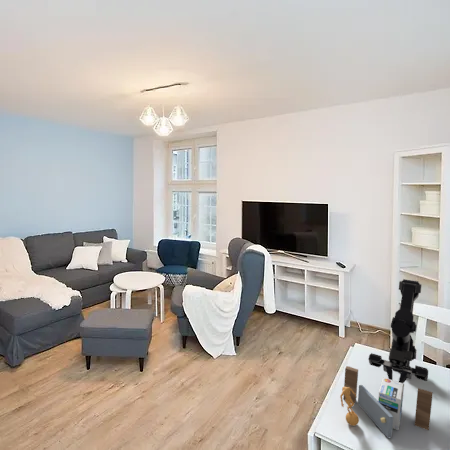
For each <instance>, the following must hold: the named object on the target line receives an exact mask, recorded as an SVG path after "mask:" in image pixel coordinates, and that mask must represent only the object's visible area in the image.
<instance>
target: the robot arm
mask: <svg viewBox="0 0 450 450" xmlns="http://www.w3.org/2000/svg"><path fill="white" fill-rule="evenodd" d="M398 290H399V291H400V295H401V299H400V306H399V309H398V310H397V311H396V312H395V314H394V316H393V317H392V319H391V322H390V328H391V336H392V341H391V346H390V350H389V352H388V353H389V354H388V360H386V359H382V355H379V354H376V353H372V352H371V353H369V356H368V363H369V365H370V366H373V367H375V368H376V367H377V368H381V367H382V369H383V371H384V372H385V373H386V375H387V378H388V379H390V380H394V378H393V376H394V375H393V371H397V372H400V374H399V375H400V376H399V378H398V382H400V383H403V384H405V382H406V381H407V379H410V380H411V378H412V374H413V375H414V377H415V378H416V379H418V380H419V381H425V382H428V377H429V369H428V368H427V367H423V366H419V365H415V367H413V366H410V363H411V362H412V361H414V360H416V359H417V349H416V346H415V345H414V340H413V337H412V335H411V334H415V333H416V331H417V324H416V322H415V321H414V314H413V311H414V302H415V301H416V300H417V299H418V298H419V294H421V292H422V284H421V283H420V281H419V280H418V281H417V280H413V279H412V280H411V279H406V278H405V279H404V278H403V279H402V280H399V283H398Z"/></svg>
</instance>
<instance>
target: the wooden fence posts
mask: <svg viewBox="0 0 450 450" xmlns="http://www.w3.org/2000/svg"><path fill="white" fill-rule="evenodd" d="M344 369H345V371H344V383H343V387H350V388H351V389H352V390H353V392H354V393H355V394H356V396H358V395H357V394H358V393H357V391H358V378H359V368H355V367H352V366H348V365H346V367H345V368H344ZM353 392H352V391H350V397H351V399H352V401H353V403H354V404H356V402H357V398H356V396H355V394H353ZM433 394H434V393H433V392H432V391H430V390H426V389H422V388H420V387H418V388H417V396H416V405H415V416H414V426H416V427H418V428H421V429H423V430H427V431H430V425H431V423H430V422H431V413H432V405H433V404H432V403H433ZM345 399H346V397H345V395H343V396H342V400H344V401H345Z"/></svg>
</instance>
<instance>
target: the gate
mask: <svg viewBox="0 0 450 450" xmlns="http://www.w3.org/2000/svg"><path fill="white" fill-rule="evenodd" d="M357 394H358V395H357V405H359V407H360V408H361V409H362V410H363V412H365V413H366V415H367V416H368V417H369V418H370V419H371V420H372V422H373V423H374V424H375V425H376V426H377V428H379V429H380V431H381V432H382V433H383V434H384V435H385V437H387V439H390V438H392V435H393V428H392V426H393V416H392V415H391V414H390V413H389V412H388V411H387V410H386V409H385V408H384V407H383V406H382V405H381V404H380V403H379V402H378V400H377V398H375V397H374V395H373V394H371V392H370V391H369V390H368V389H367V388H366V386H364V385H362V384H360V385H358V393H357Z"/></svg>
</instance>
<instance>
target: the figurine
mask: <svg viewBox="0 0 450 450" xmlns="http://www.w3.org/2000/svg"><path fill="white" fill-rule="evenodd" d="M341 390H342V392H341V393H340V397H339V398H340V402H341V404H340V405H341V408H344V403H343V400H344V399H343V397H344V395H345V397H346V399H345V400H344V401H345V403H346V404H347V406H346V407H347V411H348V412H347V413H346V415H345V421H346V423H347V424H348V425H349V426H350V427H351V426H352V427H354V426H355V427H356V426H357V425H358V424H359V421H360V417H359V415H358V414H357V413H356V412H355V411H354V410H353V408H352V407H353V406H355V403H353V401H352V399H351V397H350V391H352V392H353V390H352V389H351V388H350V387H344V386H343V387H342V389H341ZM353 394H355V393H354V392H353ZM355 396H356V399H358V395H356V394H355Z"/></svg>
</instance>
